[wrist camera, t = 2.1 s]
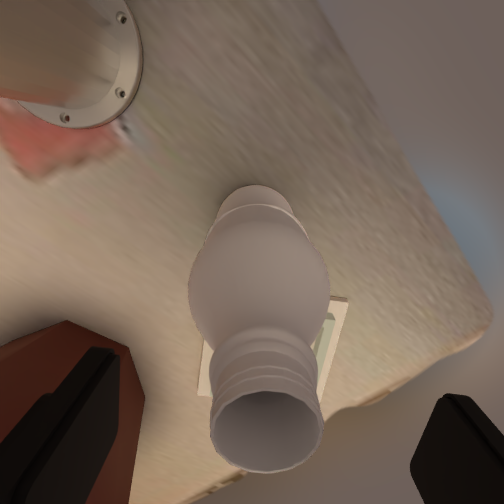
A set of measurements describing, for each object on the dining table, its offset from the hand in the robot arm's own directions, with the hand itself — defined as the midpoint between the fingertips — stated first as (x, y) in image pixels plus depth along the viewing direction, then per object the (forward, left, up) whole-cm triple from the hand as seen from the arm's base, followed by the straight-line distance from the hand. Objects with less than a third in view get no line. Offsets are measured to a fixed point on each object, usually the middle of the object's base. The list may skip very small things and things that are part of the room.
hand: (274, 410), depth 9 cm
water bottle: (0, 0, -24) cm, 24 cm away
